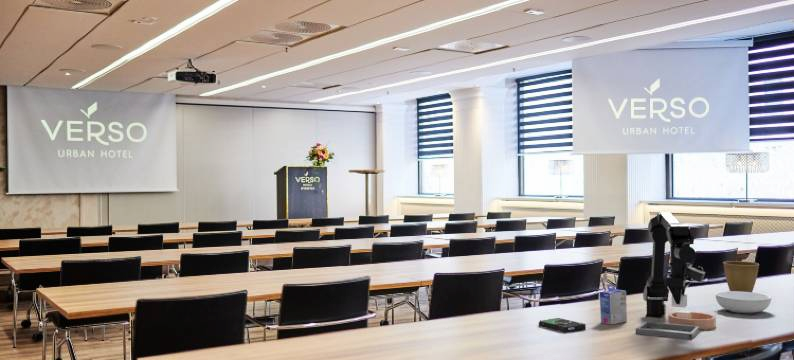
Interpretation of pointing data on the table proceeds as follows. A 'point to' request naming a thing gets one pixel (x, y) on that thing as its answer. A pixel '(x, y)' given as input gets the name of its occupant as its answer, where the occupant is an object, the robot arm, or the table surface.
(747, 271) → the plant pot
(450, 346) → the table surface
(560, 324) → the disk drive
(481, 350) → the table surface
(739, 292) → the serving bowl
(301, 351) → the table surface
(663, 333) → the parts tray
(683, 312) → the white matte cube
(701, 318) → the bowl
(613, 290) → the ink cartridge box
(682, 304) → the pale grey cubic block
